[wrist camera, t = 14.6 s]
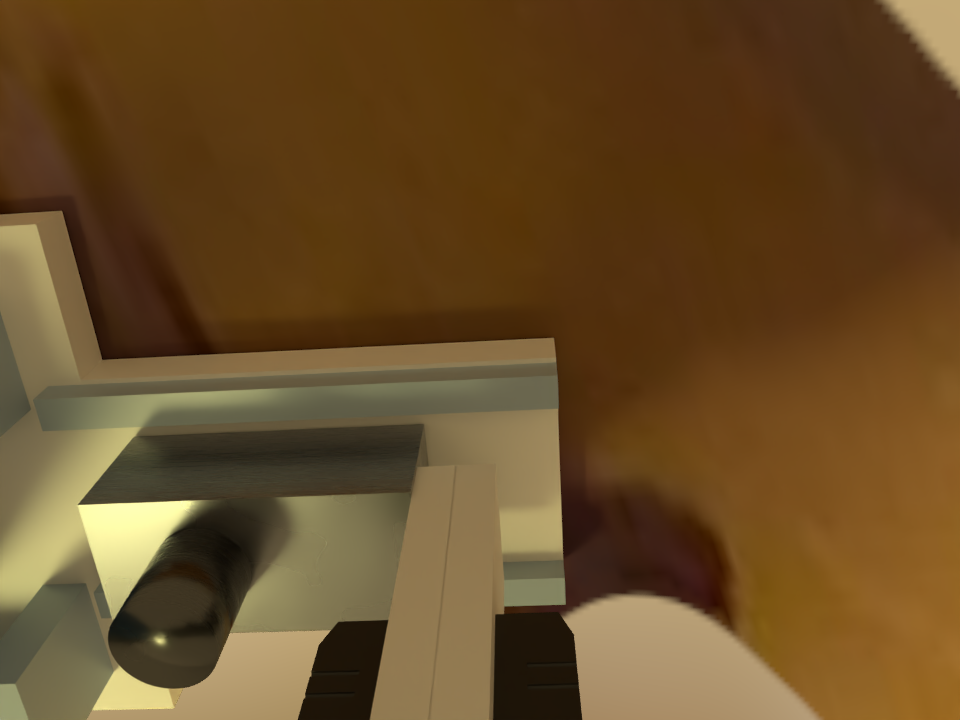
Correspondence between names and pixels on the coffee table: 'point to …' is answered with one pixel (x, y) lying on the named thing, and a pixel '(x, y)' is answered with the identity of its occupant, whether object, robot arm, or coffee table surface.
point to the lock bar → (246, 538)
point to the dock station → (218, 409)
